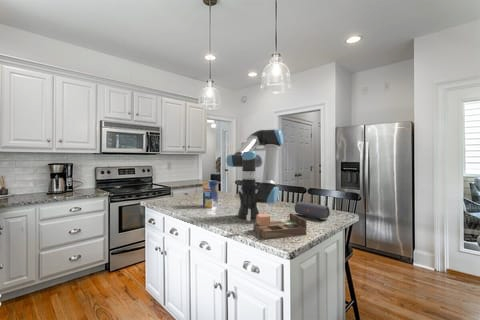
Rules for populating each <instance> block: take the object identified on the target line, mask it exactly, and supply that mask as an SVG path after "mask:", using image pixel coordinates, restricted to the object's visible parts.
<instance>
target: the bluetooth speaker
mask: <svg viewBox="0 0 480 320" xmlns="http://www.w3.org/2000/svg"><path fill="white" fill-rule="evenodd" d="M294 212H295V213H296V214H299V215H303V216H304V217H305V218H310V219H315V220H319V219H324V220H327V219H329V217H330V207H329V206H326V205H322V204H319V203H313V202H305V201H304V202H303V201H296V203H295V205H294Z"/></svg>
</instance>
